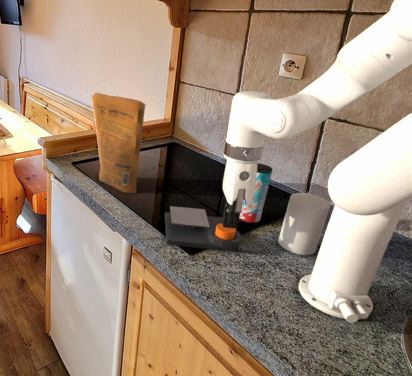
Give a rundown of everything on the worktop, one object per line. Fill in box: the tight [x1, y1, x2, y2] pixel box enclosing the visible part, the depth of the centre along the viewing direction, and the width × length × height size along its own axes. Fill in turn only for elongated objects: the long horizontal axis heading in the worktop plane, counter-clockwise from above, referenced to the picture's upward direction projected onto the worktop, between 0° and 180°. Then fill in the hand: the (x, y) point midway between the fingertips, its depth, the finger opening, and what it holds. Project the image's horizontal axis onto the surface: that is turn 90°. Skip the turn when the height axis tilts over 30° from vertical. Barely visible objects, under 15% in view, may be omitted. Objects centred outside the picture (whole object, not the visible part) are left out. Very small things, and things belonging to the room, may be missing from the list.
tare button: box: [215, 223, 237, 240], centre depth 95 cm, size 4×4×2 cm
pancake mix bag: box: [90, 92, 147, 194], centre depth 120 cm, size 7×19×28 cm, turn 39°
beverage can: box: [239, 162, 273, 225], centre depth 105 cm, size 6×6×15 cm
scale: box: [164, 211, 243, 253], centre depth 100 cm, size 15×17×3 cm
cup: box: [277, 192, 331, 256], centre depth 95 cm, size 8×8×12 cm
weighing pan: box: [169, 205, 210, 228], centre depth 102 cm, size 9×9×1 cm
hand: (229, 226), depth 94 cm, fingers closed
